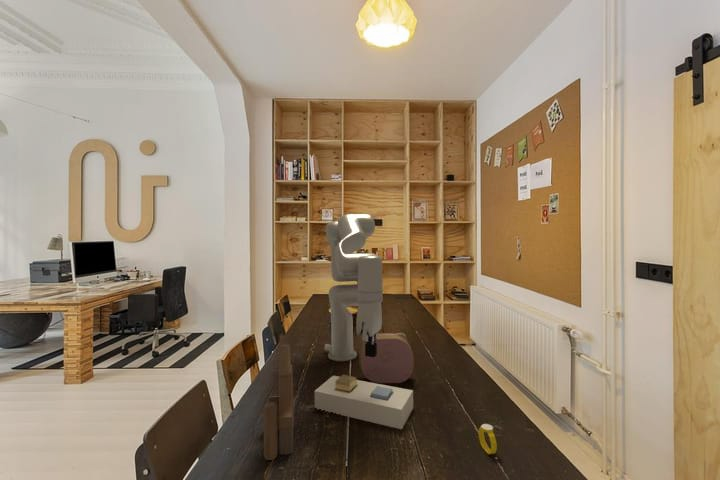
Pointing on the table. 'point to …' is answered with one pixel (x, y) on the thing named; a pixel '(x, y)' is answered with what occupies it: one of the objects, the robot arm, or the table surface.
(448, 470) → the table surface
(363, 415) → the button console
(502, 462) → the table surface
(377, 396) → the slate-blue button
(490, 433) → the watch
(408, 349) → the face sculpture
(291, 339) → the table surface
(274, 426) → the wooden toy
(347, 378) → the brass button
